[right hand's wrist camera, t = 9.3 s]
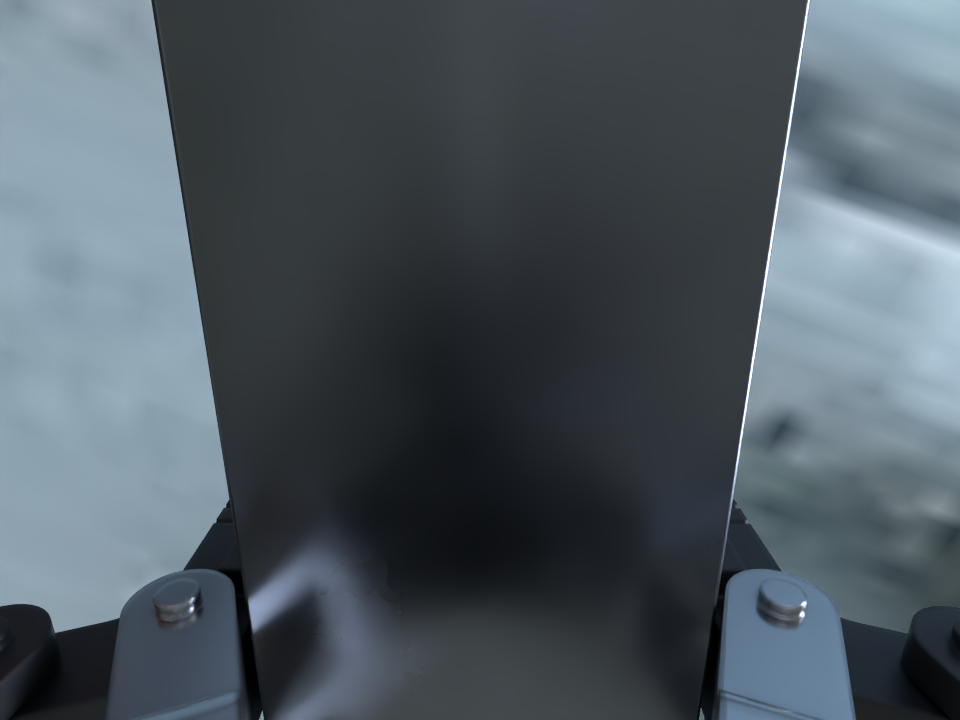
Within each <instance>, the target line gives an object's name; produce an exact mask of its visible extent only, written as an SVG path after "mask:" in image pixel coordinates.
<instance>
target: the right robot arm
mask: <svg viewBox="0 0 960 720" xmlns="http://www.w3.org/2000/svg"><path fill="white" fill-rule="evenodd" d="M701 709H702V711H703V714H704V717H705V719H704V720H960V608H956V607H949V606H935V607H928V608H925V609H922V610H920V611H918V612H917V613H916V614H915V615H914V617H913V619H912V622H911V625H910V628H909V632H908V634H906V633H901V632H897V631H892V630H888V629H883V628H879V627H874V626H870V625H865V624H861V623H857V622H853V621H849V620H846V619H843V618H841V617H840V615H839V611H838V609H837V607H836V606H835V604H834V603H833V602H832V600H831V599H830V598H829V597H828V596H827V595H826V594H825V593H824V592H823V591H821V590H820V589H819V588H817V587H816V586H814V585H813V584H811V583H809V582H808V581H806V580H803V579H801V578H799V577H797V576H794V575H791V574H788V573H785V572H782V571H781V570H780V568H779V567H778V565H777V563H776V562H775V560H774V559H773V557H772V556H771V554H770V553H769V551H768V550H767V548H766V547H765V545H764V544H763V542H762V541H761V539H760V538H759V536H758V535H757V533H756V532H755V530H754V529H753V527H752V526H751V524H748V520H747V518H746V517H745V515H744V514H743V512H742V511H741V509H738V505H737V503H736V502H735V500H734V499H733V502H732V508H731V515H730V521H729V528H728V534H727V541H726V547H725V554H724V560H723V566H722V573H721V579H720V586H719V592H718V599H717V605H716V612H715V618H714V624H713V631H712V637H711V644H710V650H709V657H708V663H707V669H706V676H705V682H704V689H703V695H702V702H701ZM262 710H263V709H262V702H261V696H260V690H259V683H258V677H257V671H256V664H255V658H254V651H253V645H252V639H251V632H250V626H249V620H248V613H247V607H246V600H245V594H244V588H243V581H242V575H241V568H240V562H239V556H238V549H237V543H236V537H235V530H234V524H233V517H232V511H231V505H230V500H229V501H228V503H227V504H226V508H224V509H223V510H222V512H221V513H220V515H219V516H218V518H217V522H216V523H214V524H213V526H212V527H211V529H210V530H209V532H208V533H207V535H206V536H205V538H204V539H203V541H202V542H201V544H200V545H199V547H198V548H197V550H196V552H195V553H194V555H193V556H192V558H191V559H190V561H189V562H188V564H187V565H186V567H185V568H184V570H183V571H179V572H175V573H172V574H169V575H166V576H163V577H161V578H159V579H157V580H154V581H152V582H151V583H149V584H147V585H146V586H144V587H143V588H141V589H140V590H139V591H137V592H136V593H135V594H134V595H133V596H132V597H131V598H130V599H129V600H128V602H127V603H126V604H125V606H124V608H123V609H122V611H121V615H120V618H118V619H115V620H111V621H107V622H103V623H99V624H94V625H90V626H85V627H81V628H76V629H72V630H67V631H63V632H58V633H55V632H54V628H53V625H52V621H51V618H50V616H49V614H48V613H47V612H46V611H45V610H44V609H42V608H40V607H38V606H34V605H28V604H14V605H7V606H1V607H0V720H259V718H260V715H261V712H262Z"/></svg>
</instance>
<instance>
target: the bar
mask: <svg viewBox="0 0 960 720" xmlns="http://www.w3.org/2000/svg"><path fill="white" fill-rule="evenodd" d="M151 1H152V7H153V13H154V20H155V26H156V33H157V39H158V45H159V52H160V58H161V65H162V71H163V77H164V84H165V90H166V96H167V103H168V109H169V116H170V122H171V128H172V135H173V141H174V147H175V154H176V160H177V167H178V173H179V179H180V186H181V192H182V198H183V205H184V211H185V218H186V224H187V230H188V237H189V243H190V250H191V256H192V262H193V269H194V275H195V281H196V288H197V294H198V301H199V307H200V313H201V320H202V326H203V332H204V339H205V345H206V352H207V358H208V364H209V371H210V377H211V384H212V390H213V396H214V403H215V409H216V415H217V422H218V428H219V435H220V441H221V447H222V454H223V460H224V466H225V473H226V479H227V486H228V492H229V498H230V505H231V511H232V517H233V524H234V530H235V537H236V543H237V549H238V556H239V562H240V568H241V575H242V581H243V588H244V594H245V600H246V607H247V613H248V620H249V626H250V632H251V639H252V645H253V651H254V658H255V664H256V671H257V677H258V683H259V690H260V696H261V702H262V709H263V715H264V720H699V715H700V708H701V702H702V695H703V689H704V682H705V676H706V669H707V663H708V657H709V650H710V644H711V637H712V631H713V624H714V618H715V612H716V605H717V599H718V592H719V586H720V579H721V573H722V566H723V560H724V554H725V547H726V541H727V534H728V528H729V521H730V515H731V508H732V502H733V496H734V489H735V483H736V476H737V470H738V463H739V457H740V451H741V444H742V438H743V431H744V425H745V418H746V412H747V405H748V399H749V393H750V386H751V380H752V373H753V367H754V360H755V354H756V347H757V341H758V335H759V328H760V322H761V315H762V309H763V302H764V296H765V290H766V283H767V277H768V270H769V264H770V257H771V251H772V244H773V238H774V232H775V225H776V219H777V212H778V206H779V199H780V193H781V186H782V180H783V174H784V167H785V161H786V154H787V148H788V141H789V135H790V129H791V122H792V116H793V109H794V103H795V96H796V90H797V83H798V77H799V71H800V64H801V58H802V51H803V45H804V38H805V32H806V25H807V19H808V13H809V6H810V0H151Z"/></svg>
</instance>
